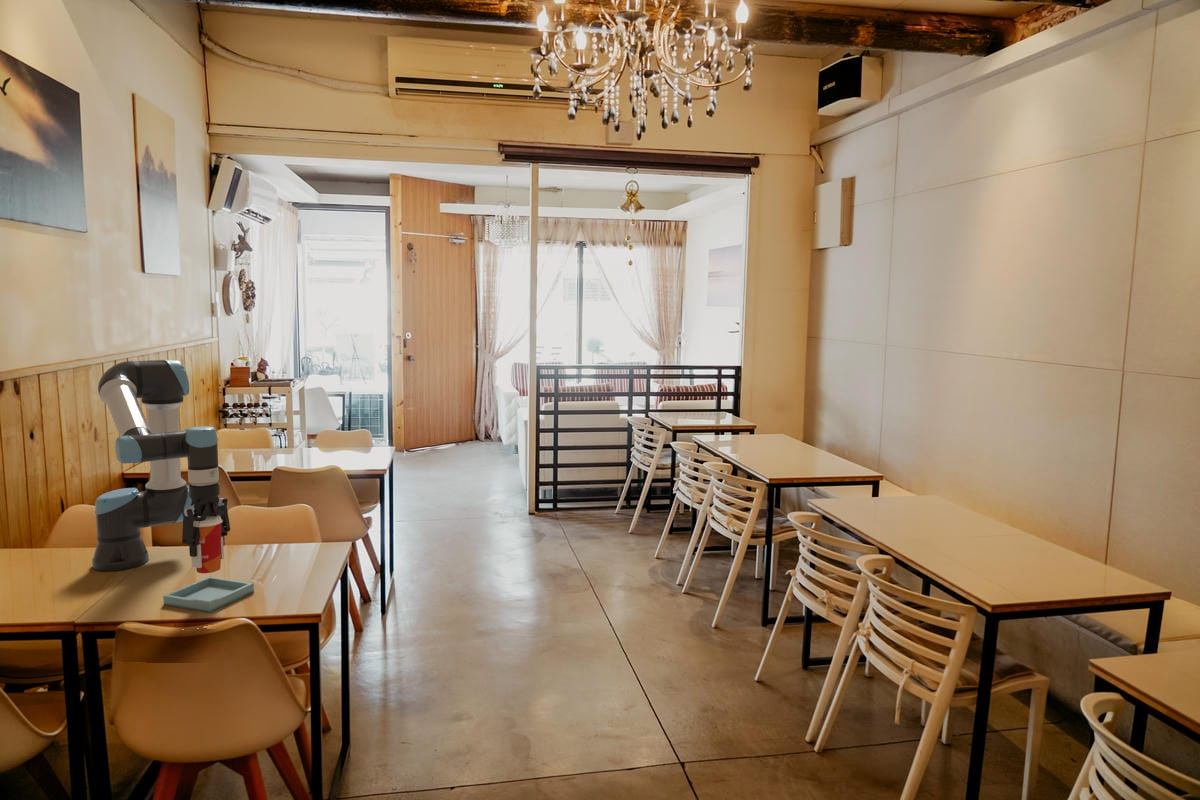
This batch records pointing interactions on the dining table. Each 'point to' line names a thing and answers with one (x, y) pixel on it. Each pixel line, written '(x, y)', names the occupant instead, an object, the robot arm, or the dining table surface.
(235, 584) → the tray
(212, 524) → the coffee cup
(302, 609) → the dining table surface
